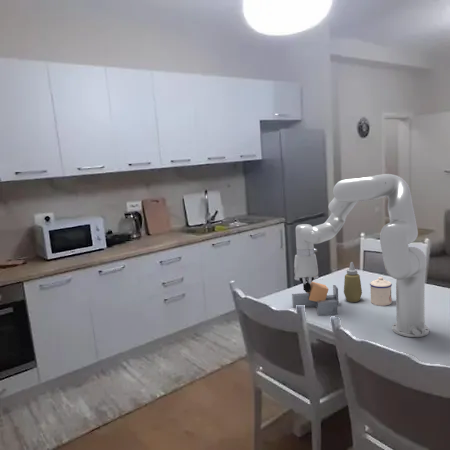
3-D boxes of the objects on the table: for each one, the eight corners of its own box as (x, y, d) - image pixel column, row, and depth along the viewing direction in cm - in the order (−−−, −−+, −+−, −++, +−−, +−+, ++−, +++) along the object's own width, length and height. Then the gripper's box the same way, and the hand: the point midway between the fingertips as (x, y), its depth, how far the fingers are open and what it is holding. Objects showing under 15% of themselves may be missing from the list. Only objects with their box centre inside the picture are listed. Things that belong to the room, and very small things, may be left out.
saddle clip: (324, 303, 185) (328, 289, 184) (309, 299, 185) (313, 285, 183) (321, 298, 191) (325, 284, 190) (306, 295, 191) (310, 281, 190)
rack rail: (338, 305, 185) (337, 288, 184) (293, 308, 186) (292, 291, 184) (333, 298, 194) (332, 282, 193) (290, 301, 195) (290, 285, 194)
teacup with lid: (395, 305, 180) (394, 279, 178) (373, 306, 180) (372, 281, 179) (386, 296, 191) (386, 272, 190) (366, 297, 192) (365, 273, 190)
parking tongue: (337, 314, 175) (337, 301, 174) (318, 315, 175) (318, 303, 175) (335, 311, 178) (335, 299, 177) (317, 312, 178) (316, 300, 178)
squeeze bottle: (365, 299, 190) (364, 261, 188) (357, 304, 185) (356, 265, 182) (348, 296, 196) (347, 259, 193) (340, 301, 190) (339, 263, 187)
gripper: (320, 249, 187) (321, 287, 190) (287, 251, 188) (289, 290, 191) (323, 252, 180) (325, 293, 183) (289, 255, 180) (291, 295, 183)
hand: (307, 291), depth 187 cm, fingers closed
